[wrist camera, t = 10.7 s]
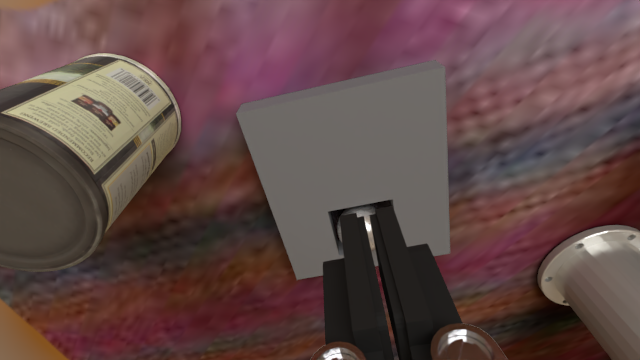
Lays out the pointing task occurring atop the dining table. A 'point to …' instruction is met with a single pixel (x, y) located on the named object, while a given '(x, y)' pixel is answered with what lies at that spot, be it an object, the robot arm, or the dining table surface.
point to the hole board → (353, 158)
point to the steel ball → (364, 211)
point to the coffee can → (77, 156)
